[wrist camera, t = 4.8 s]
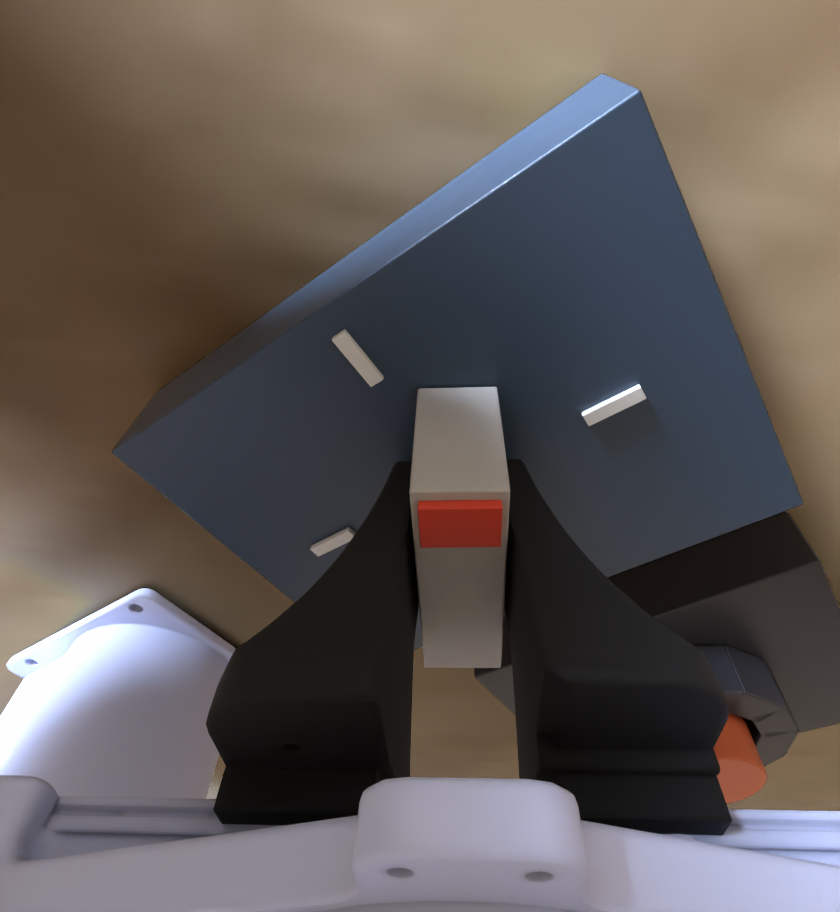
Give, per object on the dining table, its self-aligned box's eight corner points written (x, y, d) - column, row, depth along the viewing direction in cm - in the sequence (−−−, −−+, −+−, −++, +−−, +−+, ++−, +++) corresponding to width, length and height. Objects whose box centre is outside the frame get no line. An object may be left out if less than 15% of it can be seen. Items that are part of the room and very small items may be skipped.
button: (661, 765, 22) (675, 815, 21) (624, 723, 21) (636, 775, 19) (759, 742, 21) (781, 793, 20) (728, 695, 19) (749, 748, 18)
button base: (579, 736, 28) (596, 828, 25) (471, 628, 24) (475, 724, 20) (851, 662, 24) (912, 762, 21) (787, 510, 19) (854, 610, 16)
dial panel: (380, 597, 23) (371, 670, 20) (156, 391, 17) (106, 456, 15) (756, 436, 17) (807, 508, 15) (602, 72, 12) (642, 88, 10)
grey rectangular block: (492, 554, 17) (501, 678, 13) (428, 555, 17) (423, 677, 14) (497, 385, 13) (511, 499, 10) (417, 387, 13) (408, 501, 10)
